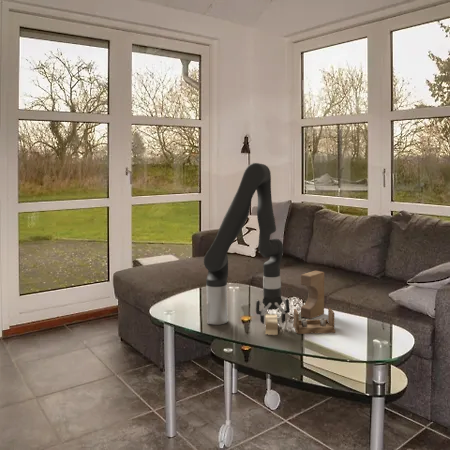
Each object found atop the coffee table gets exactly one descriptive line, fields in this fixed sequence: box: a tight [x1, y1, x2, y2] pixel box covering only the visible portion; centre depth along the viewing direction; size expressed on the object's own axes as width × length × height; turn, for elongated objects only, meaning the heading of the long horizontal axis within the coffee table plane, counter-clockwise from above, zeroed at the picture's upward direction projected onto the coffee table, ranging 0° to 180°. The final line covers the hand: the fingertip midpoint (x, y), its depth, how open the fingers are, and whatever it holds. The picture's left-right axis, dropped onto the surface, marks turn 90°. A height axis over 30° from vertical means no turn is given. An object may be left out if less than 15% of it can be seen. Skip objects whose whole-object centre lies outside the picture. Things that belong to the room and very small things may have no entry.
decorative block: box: [300, 270, 325, 320], centre depth 235 cm, size 11×6×20 cm, turn 132°
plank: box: [264, 313, 279, 336], centre depth 219 cm, size 12×5×5 cm, turn 175°
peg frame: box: [292, 307, 336, 335], centre depth 218 cm, size 16×10×8 cm, turn 91°
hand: (272, 322), depth 219 cm, fingers open, 8 cm apart
